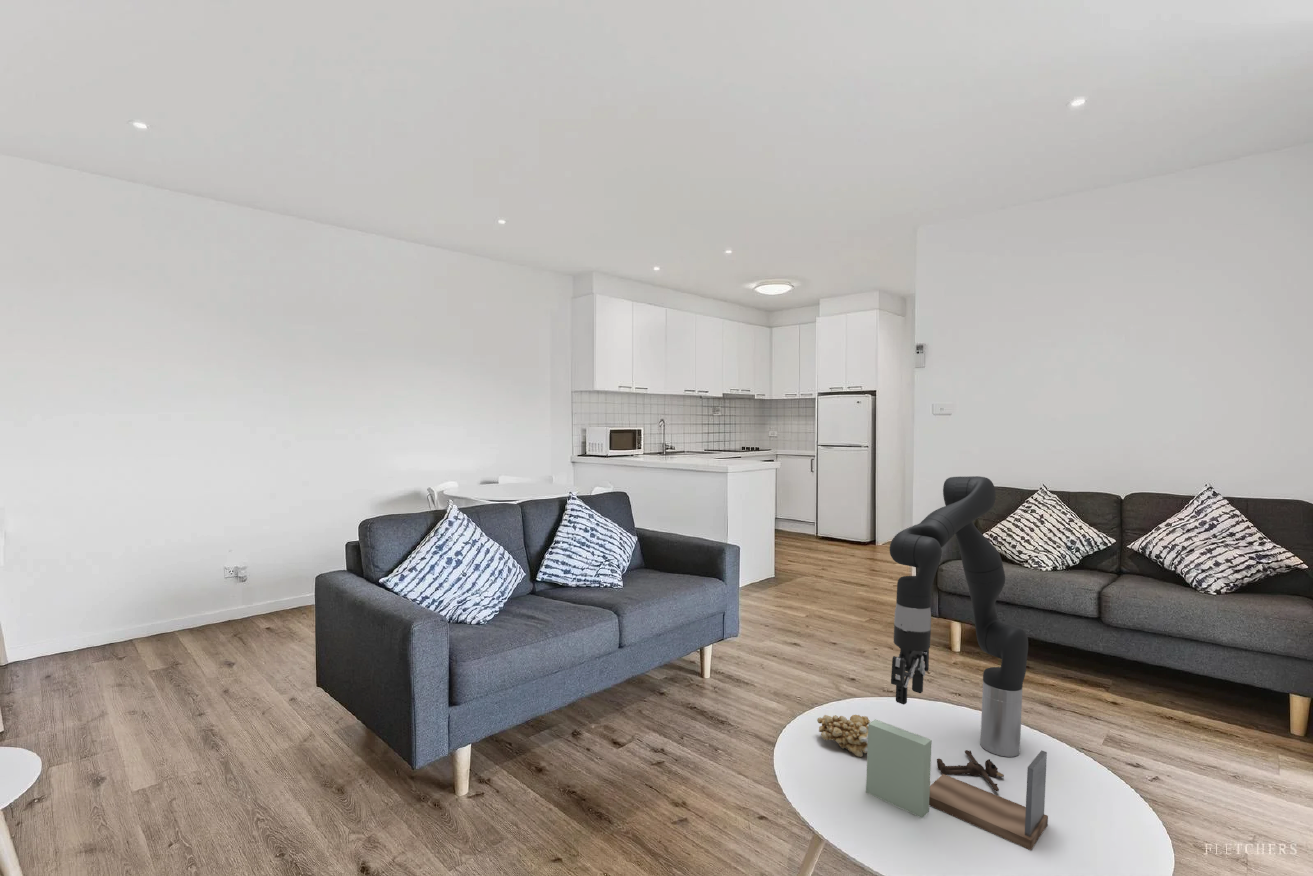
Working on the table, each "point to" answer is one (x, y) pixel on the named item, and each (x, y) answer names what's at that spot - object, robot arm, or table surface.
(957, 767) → the wooden monkey figure
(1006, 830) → the walnut shelf board
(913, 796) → the sage book
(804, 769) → the table surface
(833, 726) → the mineral formation
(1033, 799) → the grey metal bookend
